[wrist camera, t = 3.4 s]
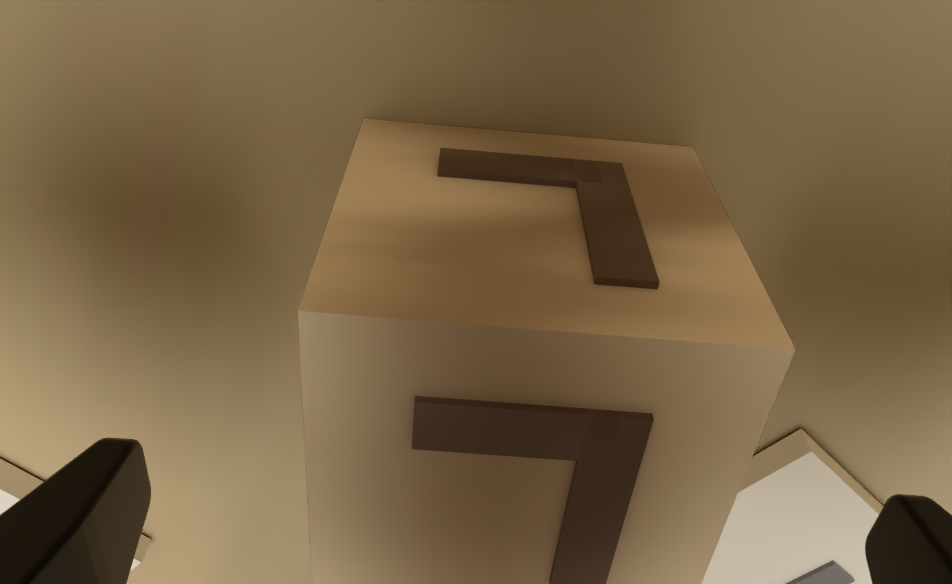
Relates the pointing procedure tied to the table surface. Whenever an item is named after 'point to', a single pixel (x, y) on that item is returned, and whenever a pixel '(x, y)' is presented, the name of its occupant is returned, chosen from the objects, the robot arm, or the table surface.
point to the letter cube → (528, 362)
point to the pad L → (10, 484)
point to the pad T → (795, 521)
